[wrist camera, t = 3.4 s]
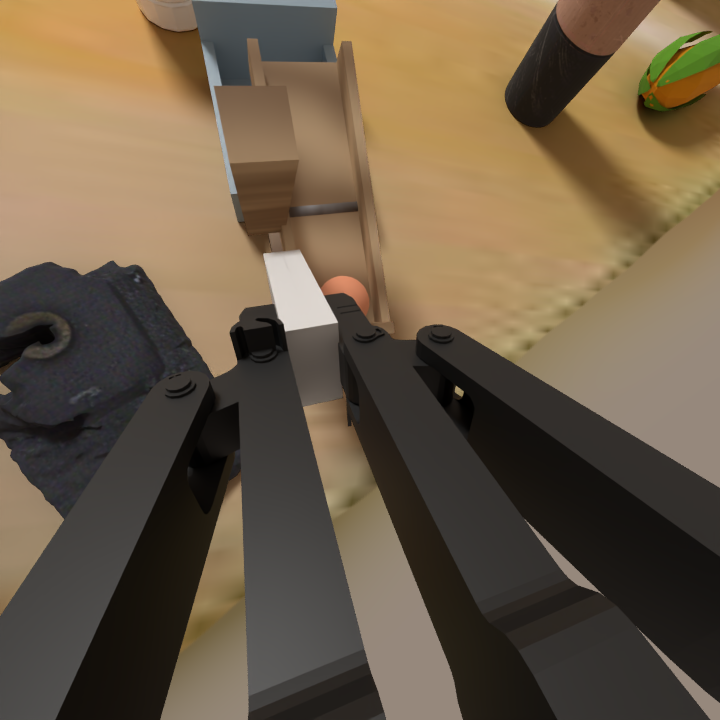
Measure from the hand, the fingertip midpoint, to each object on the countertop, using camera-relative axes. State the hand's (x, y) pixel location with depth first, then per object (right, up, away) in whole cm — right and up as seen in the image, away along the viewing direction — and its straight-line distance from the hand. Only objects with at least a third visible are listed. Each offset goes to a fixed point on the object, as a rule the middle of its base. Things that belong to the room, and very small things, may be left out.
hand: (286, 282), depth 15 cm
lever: (0, +7, +9) cm, 12 cm away
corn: (+47, +35, +33) cm, 68 cm away
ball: (+2, 0, +8) cm, 8 cm away
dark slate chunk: (-17, -7, +13) cm, 22 cm away
